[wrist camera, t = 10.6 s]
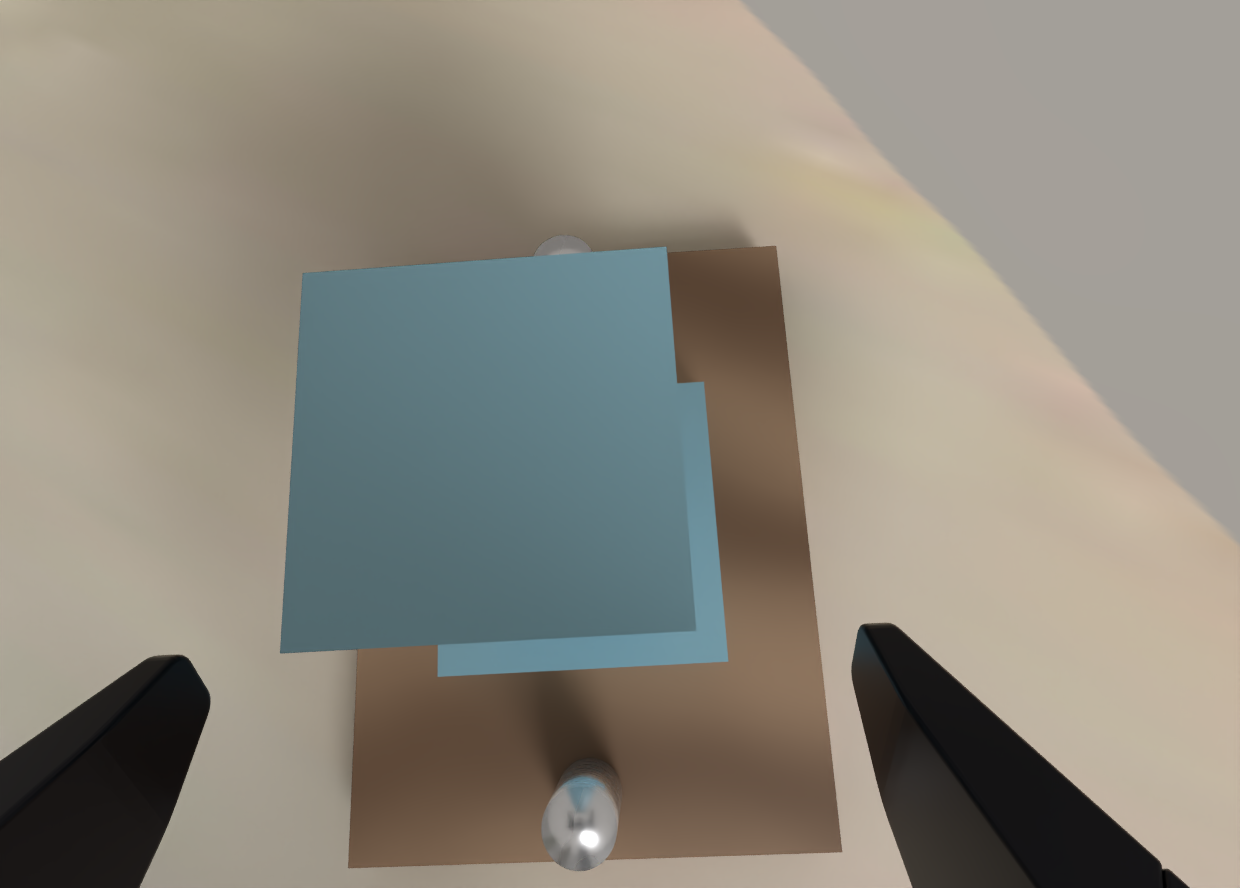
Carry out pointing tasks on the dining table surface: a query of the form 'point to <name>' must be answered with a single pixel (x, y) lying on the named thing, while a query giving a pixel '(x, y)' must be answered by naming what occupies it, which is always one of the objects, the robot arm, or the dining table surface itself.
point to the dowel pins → (589, 786)
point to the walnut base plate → (642, 695)
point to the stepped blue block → (501, 468)
